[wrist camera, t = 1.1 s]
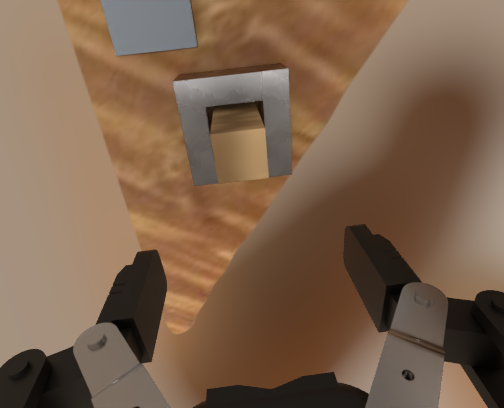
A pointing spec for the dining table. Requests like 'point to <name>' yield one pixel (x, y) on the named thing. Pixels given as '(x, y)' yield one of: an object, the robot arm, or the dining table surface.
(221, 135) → the square peg
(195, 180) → the socket block
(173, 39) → the rubber mat
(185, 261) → the dining table surface
